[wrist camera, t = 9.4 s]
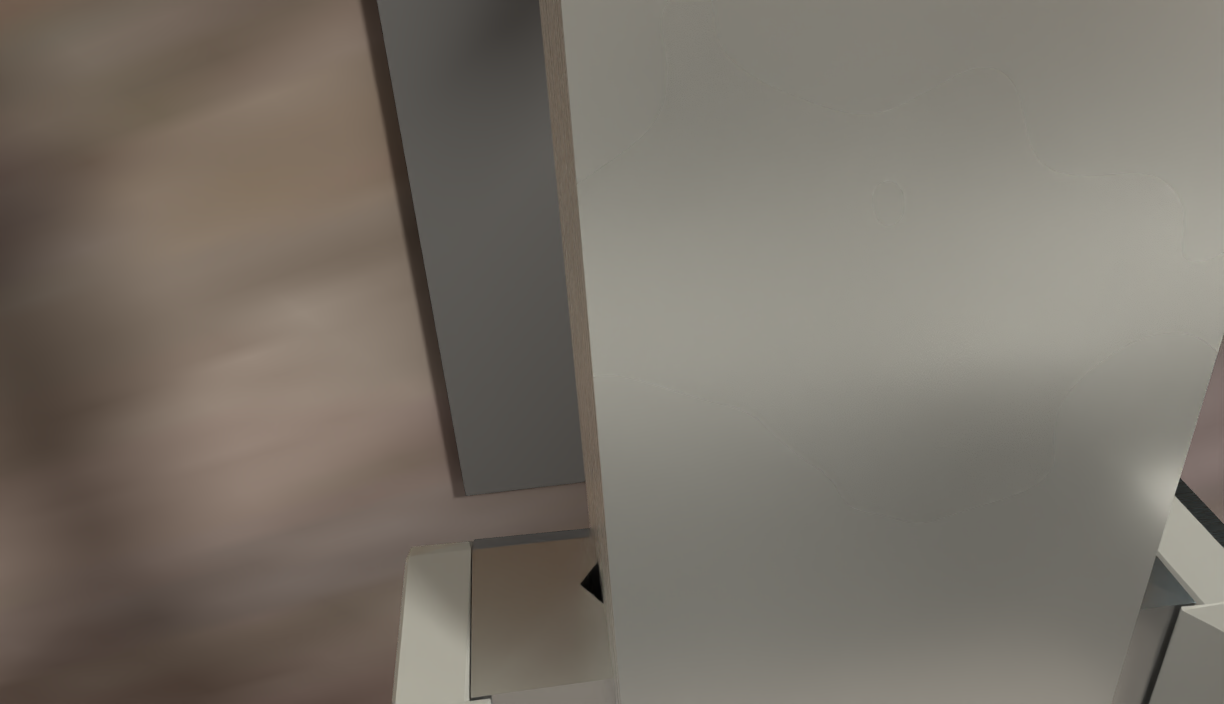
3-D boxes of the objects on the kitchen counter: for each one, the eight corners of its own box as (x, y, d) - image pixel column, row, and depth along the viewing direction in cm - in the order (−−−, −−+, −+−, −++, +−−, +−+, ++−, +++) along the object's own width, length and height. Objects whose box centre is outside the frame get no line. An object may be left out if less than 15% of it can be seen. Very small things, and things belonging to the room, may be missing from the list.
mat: (787, -858, 18) (796, -875, 18) (759, 450, 34) (763, 460, 33) (230, -838, 18) (223, -855, 17) (465, 484, 33) (465, 495, 33)
